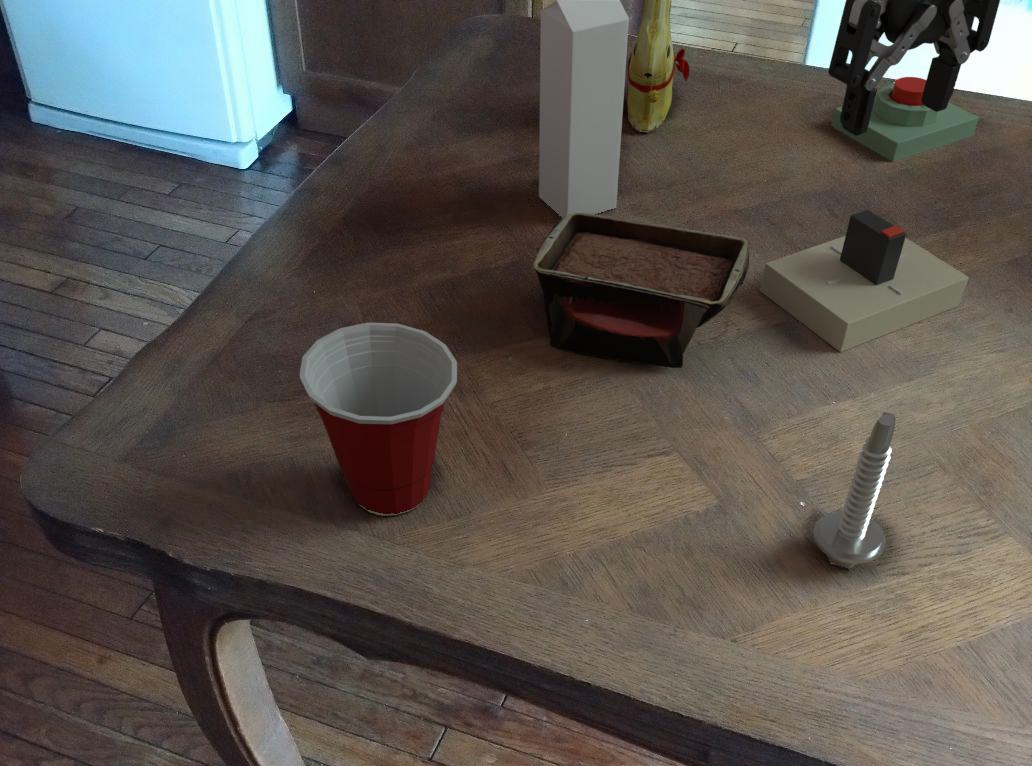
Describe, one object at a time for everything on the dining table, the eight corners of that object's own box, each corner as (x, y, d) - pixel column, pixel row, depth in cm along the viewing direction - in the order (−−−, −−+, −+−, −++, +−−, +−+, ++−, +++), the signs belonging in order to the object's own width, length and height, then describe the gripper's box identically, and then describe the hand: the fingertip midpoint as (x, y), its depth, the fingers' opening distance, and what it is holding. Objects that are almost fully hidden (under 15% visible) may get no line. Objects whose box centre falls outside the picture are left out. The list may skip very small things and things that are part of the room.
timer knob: (839, 260, 96) (851, 212, 93) (856, 254, 97) (868, 206, 94) (876, 285, 93) (889, 237, 90) (893, 279, 94) (907, 231, 91)
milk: (538, 198, 111) (538, -28, 96) (588, 184, 113) (596, -40, 97) (567, 224, 108) (572, -7, 92) (618, 209, 109) (631, -20, 94)
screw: (865, 528, 77) (888, 578, 74) (800, 533, 77) (819, 583, 74) (912, 386, 68) (941, 435, 64) (838, 391, 67) (862, 441, 64)
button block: (909, 103, 125) (918, 68, 122) (973, 136, 119) (984, 101, 116) (830, 127, 121) (837, 92, 118) (892, 162, 115) (901, 126, 112)
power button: (910, 89, 119) (914, 73, 118) (936, 102, 117) (940, 86, 116) (883, 97, 118) (887, 81, 117) (908, 111, 116) (913, 95, 114)
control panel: (874, 250, 103) (882, 221, 101) (959, 306, 96) (970, 275, 94) (759, 291, 99) (765, 261, 96) (840, 352, 92) (848, 322, 89)
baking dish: (586, 281, 104) (571, 188, 97) (767, 299, 96) (766, 199, 89) (526, 373, 96) (505, 278, 89) (718, 400, 88) (713, 299, 81)
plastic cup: (448, 550, 76) (439, 422, 68) (305, 534, 78) (278, 406, 69) (476, 451, 84) (471, 324, 75) (344, 438, 85) (324, 312, 77)
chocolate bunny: (619, 138, 120) (628, -2, 110) (630, 97, 128) (640, -38, 117) (679, 143, 119) (695, 2, 108) (687, 101, 127) (703, -35, 116)
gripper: (914, -75, 70) (858, 159, 81) (1067, -110, 74) (993, 116, 86) (837, -104, 74) (794, 122, 86) (985, -136, 79) (925, 83, 91)
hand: (893, 119), depth 86 cm, fingers open, 8 cm apart
